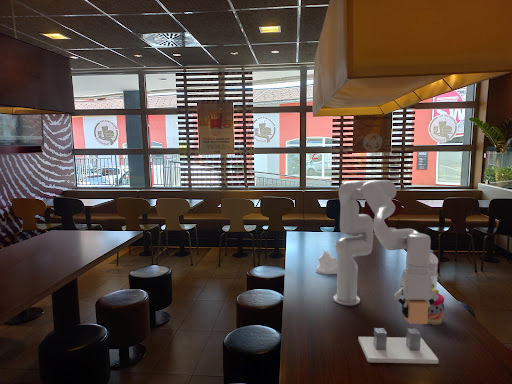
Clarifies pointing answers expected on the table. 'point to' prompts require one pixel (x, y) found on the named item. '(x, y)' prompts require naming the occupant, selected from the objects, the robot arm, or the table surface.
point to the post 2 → (413, 339)
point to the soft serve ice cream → (327, 264)
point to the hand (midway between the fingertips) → (415, 315)
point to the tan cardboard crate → (417, 312)
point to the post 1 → (380, 339)
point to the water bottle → (433, 271)
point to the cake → (436, 309)
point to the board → (397, 351)
